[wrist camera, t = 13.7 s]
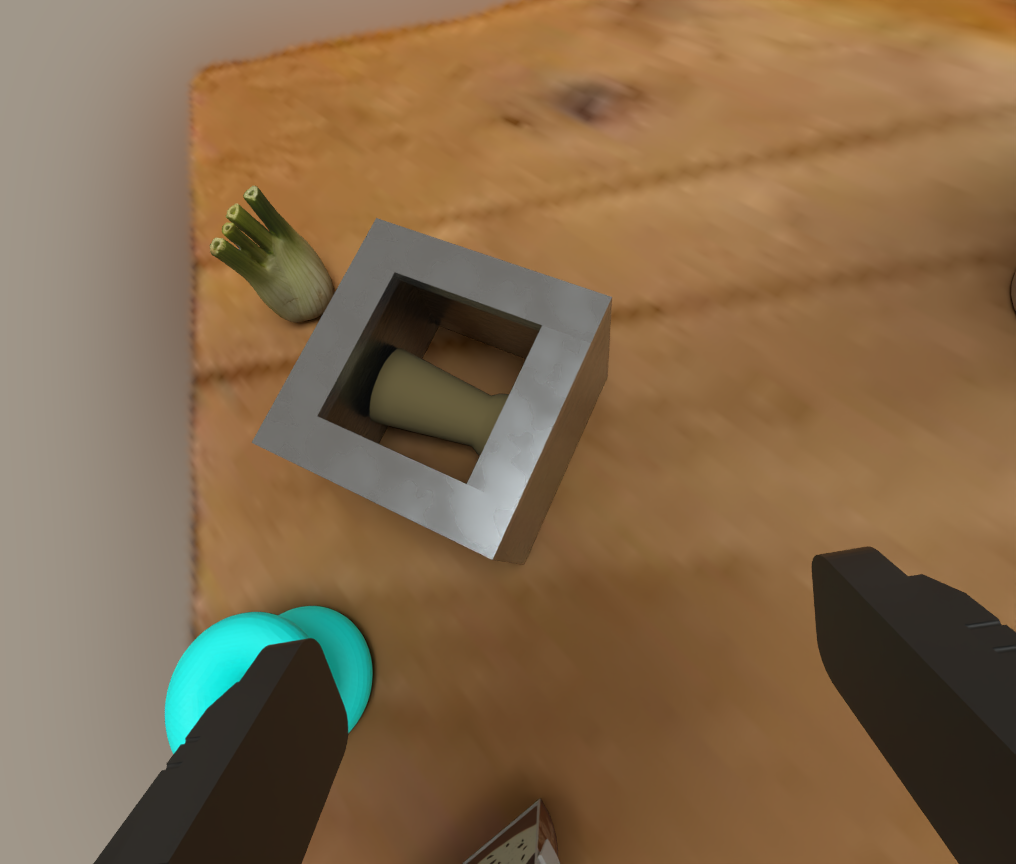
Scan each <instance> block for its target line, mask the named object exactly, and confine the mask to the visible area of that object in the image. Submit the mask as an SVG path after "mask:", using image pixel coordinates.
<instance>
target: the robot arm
mask: <svg viewBox="0 0 1016 864" xmlns="http://www.w3.org/2000/svg"><path fill="white" fill-rule="evenodd" d="M1011 296H1012V301H1013V305H1014V308H1015V310H1016V272H1015V275H1014V278H1013V281H1012V288H1011ZM812 580H813V593H814V606H815V620H816V633H817V643H818V648H819V652H820V655H821V658H822V661H823V664H824V667H825V669H826V671H827V673H828V675H829V677H830V679H831V681H832V683H833V684H834V686H835V687H836V689H837V690H838V692H839V693H840V694H841V696H842V697H843V699H844V700H845V702H846V703H847V704H848V706H849V707H850V709H851V710H852V712H853V713H854V714H855V716H856V717H857V719H858V720H859V722H860V723H861V724H862V726H863V727H864V729H865V730H866V732H867V733H868V734H869V736H870V737H871V739H872V740H873V742H874V743H875V744H876V746H877V747H878V749H879V750H880V752H881V753H882V754H883V756H884V757H885V759H886V760H887V762H888V763H889V764H890V766H891V767H892V769H893V770H894V772H895V773H896V774H897V776H898V777H899V779H900V780H901V782H902V783H903V784H904V786H905V787H906V789H907V790H908V792H909V793H910V794H911V796H912V797H913V799H914V800H915V802H916V803H917V804H918V806H919V807H920V809H921V810H922V812H923V813H924V814H925V816H926V817H927V819H928V820H929V822H930V823H931V824H932V826H933V827H934V829H935V830H936V832H937V833H938V834H939V836H940V837H941V839H942V840H943V842H944V843H945V844H946V846H947V847H948V849H949V850H950V852H951V853H952V854H953V856H954V857H955V859H956V860H957V862H958V863H959V864H1016V632H1015V631H1013V630H1012V629H1011V628H1010V627H1008V626H1007V625H1001V623H1000V621H999V619H998V618H997V617H995V616H994V615H993V614H992V613H990V612H989V611H988V610H986V609H985V608H984V607H983V606H981V605H980V604H979V603H977V602H976V601H975V600H974V599H972V598H971V597H970V596H968V595H967V594H966V593H964V592H962V591H959V590H957V589H955V588H952V587H950V586H948V585H946V584H943V583H941V582H939V581H937V580H934V579H932V578H930V577H927V576H925V575H923V574H920V575H914V576H907V575H906V574H904V573H903V572H902V571H901V570H900V569H899V568H897V567H896V566H895V565H894V564H893V563H892V562H890V561H889V560H888V559H887V558H886V557H885V556H883V555H882V554H881V553H880V552H879V551H877V550H876V549H875V548H872V547H862V548H856V549H850V550H844V551H838V552H832V553H826V554H820V555H816V556H815V557H814V558H813V561H812ZM347 739H348V718H347V713H346V709H345V706H344V704H343V701H342V699H341V696H340V693H339V691H338V688H337V686H336V683H335V681H334V678H333V676H332V673H331V670H330V668H329V665H328V663H327V660H326V658H325V655H324V652H323V650H322V648H321V646H320V644H319V643H318V642H317V641H316V640H315V639H313V638H308V639H302V640H296V641H290V642H284V643H278V644H272V645H268V646H266V647H264V648H263V649H262V650H261V652H260V653H259V654H258V656H257V657H256V659H255V660H254V661H253V663H252V664H251V666H250V667H249V668H248V670H247V671H246V673H245V674H244V676H243V677H242V678H241V680H240V681H239V682H236V683H235V684H234V685H233V686H232V687H231V688H229V689H228V690H227V691H226V692H225V693H224V694H223V695H222V696H221V697H219V698H218V699H217V700H216V701H215V702H214V703H213V704H212V705H210V706H209V707H208V708H207V709H206V711H205V712H204V713H203V715H202V716H201V717H200V719H199V720H198V722H197V723H196V724H195V726H194V727H193V728H192V730H191V731H190V732H189V734H188V735H187V737H186V738H185V740H186V741H185V744H181V745H180V746H179V747H178V749H177V750H176V752H175V753H174V754H173V756H172V757H171V758H170V760H169V761H168V763H167V768H166V770H162V771H161V772H160V774H159V775H158V776H157V778H156V779H155V780H154V782H153V783H152V784H151V786H150V787H149V789H148V790H147V791H146V793H145V794H144V795H143V797H142V798H141V800H140V801H139V802H138V804H137V805H136V806H135V808H134V809H133V811H132V812H131V813H130V814H129V816H128V817H127V819H126V820H125V821H124V823H123V824H122V826H121V827H120V828H119V829H118V831H117V832H116V834H115V835H114V836H113V838H112V839H111V841H110V842H109V843H108V845H107V846H106V847H105V849H104V850H103V851H102V853H101V854H100V855H99V857H98V858H97V860H96V861H95V862H94V864H301V863H302V861H303V858H304V856H305V853H306V851H307V848H308V845H309V843H310V840H311V838H312V835H313V832H314V830H315V827H316V825H317V822H318V820H319V817H320V814H321V812H322V809H323V807H324V804H325V802H326V799H327V796H328V794H329V791H330V789H331V786H332V784H333V781H334V778H335V776H336V773H337V771H338V768H339V765H340V763H341V760H342V758H343V755H344V752H345V749H346V745H347Z"/></svg>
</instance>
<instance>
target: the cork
mask: <svg viewBox="0 0 1016 864" xmlns="http://www.w3.org/2000/svg"><path fill="white" fill-rule="evenodd" d="M508 396H509V394H497V395H493V396H491V395H489V394H487V393H485V392H483V391H481V390H479V389H477V388H475V387H474V386H472V385H470V384H468V383H466V382H464V381H462V380H460V379H459V378H457V377H455V376H453V375H451V374H449V373H447V372H445V371H443V370H442V369H440V368H438V367H436V366H434V365H432V364H430V363H428V362H426V361H425V360H423V359H421V358H419V357H417V356H415V355H413V354H411V353H410V352H408V351H406V350H404V349H402V348H400V349H396V350H395V351H394V352H393V353H392V354H391V355H390V356H389V357H388V359H387V360H386V361H385V363H384V365H383V367H382V369H381V371H380V372H379V375H378V377H377V380H376V382H375V385H374V388H373V392H372V395H371V401H370V408H369V409H370V418H371V420H372V422H375V423H379V424H383V425H387V426H391V427H395V428H400V429H404V430H408V431H412V432H416V433H420V434H424V435H428V436H432V437H437V438H441V439H445V440H449V441H453V442H457V443H461V444H465V445H469V446H472V447H473V448H474V450H475V451H476V453H477V454H478V455H481V453H482V451H483V449H484V447H485V445H486V443H487V441H488V438H489V436H490V434H491V432H492V430H493V428H494V426H495V424H496V422H497V420H498V417H499V415H500V413H501V411H502V409H503V407H504V405H505V403H506V401H507V398H508Z"/></svg>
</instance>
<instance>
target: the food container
mask: <svg viewBox="0 0 1016 864" xmlns="http://www.w3.org/2000/svg"><path fill="white" fill-rule="evenodd" d="M462 864H560V862H559V859H558V847H557V840H556V834H555V830H554V826H553V823H552V820H551V818H550V815H549V813H548V811H547V809H546V807H545V805H544V804H543V802H542V800H541V799H539V800H538V801H536V802H535V803H534V804H533V805H532V806H530V807H529V808H528V809H527V810H526V811H524V812H523V813H522V814H521V815H520V816H518V817H517V818H516V819H515V820H514V821H513V822H511V823H510V824H509V825H508V826H507V827H505V828H504V829H503V830H502V831H501V832H499V833H498V834H497V835H496V836H495V837H493V838H492V839H491V840H490V841H489V842H487V843H486V844H485V845H484V846H483V847H481V848H480V849H479V850H478V851H477V852H475V853H474V854H473V855H472V856H471V857H469V858H468V859H467V860H466V861H465V862H463V863H462Z"/></svg>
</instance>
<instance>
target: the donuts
mask: <svg viewBox="0 0 1016 864" xmlns="http://www.w3.org/2000/svg"><path fill="white" fill-rule="evenodd" d="M308 638H313V639H315V640H316V641H317V642H318V643H319V644H320V646H321V648H322V650H323V652H324V655H325V658H326V660H327V663H328V665H329V668H330V670H331V673H332V676H333V678H334V681H335V683H336V686H337V688H338V691H339V693H340V696H341V699H342V701H343V704H344V706H345V709H346V713H347V718H348V733H349V732H350V731H351V730H352V729H353V728H354V726H355V725H356V724H357V722H358V721H359V719H360V717H361V715H362V714H363V712H364V710H365V707H366V705H367V703H368V699H369V696H370V692H371V687H372V677H373V670H372V660H371V655H370V651H369V648H368V646H367V643H366V641H365V639H364V637H363V635H362V634H361V632H360V631H359V629H358V628H357V627H356V626H355V625H354V624H353V622H351V621H350V620H349V619H348V618H347V617H345V616H344V615H342V614H340V613H339V612H337V611H334V610H332V609H329V608H326V607H321V606H303V607H298V608H294V609H291V610H288V611H286V612H284V613H282V614H280V615H275V614H271V613H266V612H248V613H241V614H237V615H233V616H230V617H228V618H225V619H223V620H221V621H219V622H217V623H216V624H214V625H212V626H211V627H209V628H208V629H207V630H205V631H204V632H203V633H202V634H200V635H199V636H198V637H197V638H196V639H195V640H194V641H193V643H192V644H191V645H190V646H189V647H188V649H187V650H186V651H185V653H184V654H183V656H182V657H181V659H180V661H179V662H178V664H177V666H176V668H175V670H174V672H173V675H172V677H171V681H170V683H169V687H168V691H167V696H166V703H165V726H166V732H167V737H168V741H169V744H170V747H171V750H172V752H173V754H174V753H175V752H176V750H177V749H178V747H179V746H180V745H181V744H185V741H186V740H185V738H186V737H187V735H188V734H189V732H190V731H191V730H192V728H193V727H194V726H195V724H196V723H197V722H198V720H199V719H200V717H201V716H202V715H203V713H204V712H205V711H206V709H207V708H208V707H209V706H210V705H212V704H213V703H214V702H215V701H216V700H217V699H218V698H219V697H221V696H222V695H223V694H224V693H225V692H226V691H227V690H228V689H229V688H231V687H232V686H233V685H234V684H235V683H236V682H239V681H240V680H241V678H242V677H243V676H244V674H245V673H246V671H247V670H248V668H249V667H250V666H251V664H252V663H253V661H254V660H255V659H256V657H257V656H258V654H259V653H260V652H261V650H262V649H263V648H264V647H266V646H268V645H272V644H278V643H284V642H290V641H296V640H302V639H308Z"/></svg>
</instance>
